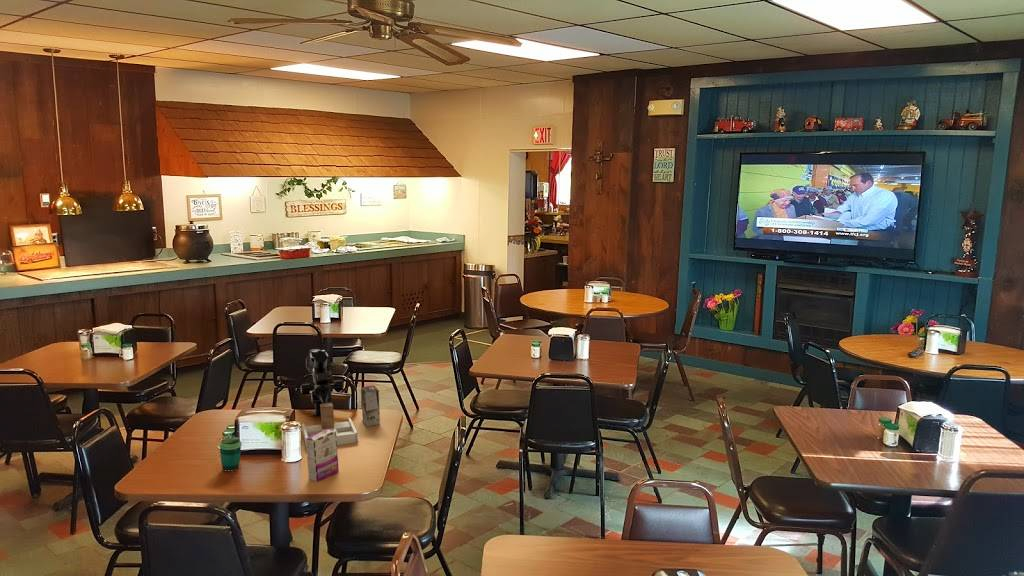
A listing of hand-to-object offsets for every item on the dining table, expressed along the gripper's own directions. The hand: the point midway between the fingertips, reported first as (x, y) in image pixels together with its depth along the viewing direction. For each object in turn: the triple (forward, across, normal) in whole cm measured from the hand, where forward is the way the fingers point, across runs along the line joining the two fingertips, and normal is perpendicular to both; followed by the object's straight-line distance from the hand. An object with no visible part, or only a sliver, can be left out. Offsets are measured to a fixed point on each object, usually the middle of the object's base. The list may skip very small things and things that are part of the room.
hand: (324, 404), depth 325 cm
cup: (+34, -39, -19) cm, 55 cm away
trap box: (+18, 0, -4) cm, 19 cm away
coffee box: (+10, +20, +5) cm, 23 cm away
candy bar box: (+47, -7, -32) cm, 57 cm away
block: (+12, 0, -1) cm, 12 cm away
